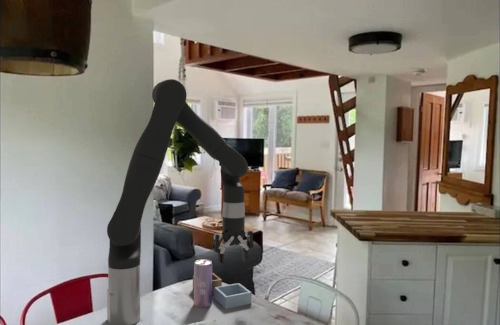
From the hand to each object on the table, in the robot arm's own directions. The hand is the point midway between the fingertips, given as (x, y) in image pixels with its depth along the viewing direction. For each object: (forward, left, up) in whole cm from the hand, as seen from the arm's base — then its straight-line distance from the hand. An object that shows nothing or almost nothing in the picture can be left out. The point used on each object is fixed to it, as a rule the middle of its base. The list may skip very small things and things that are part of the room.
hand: (233, 262), depth 128 cm
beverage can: (-10, +2, -14) cm, 18 cm away
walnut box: (-5, +11, -14) cm, 19 cm away
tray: (0, 0, -14) cm, 14 cm away
